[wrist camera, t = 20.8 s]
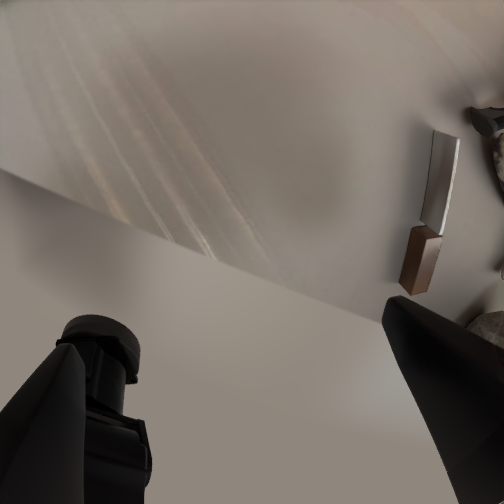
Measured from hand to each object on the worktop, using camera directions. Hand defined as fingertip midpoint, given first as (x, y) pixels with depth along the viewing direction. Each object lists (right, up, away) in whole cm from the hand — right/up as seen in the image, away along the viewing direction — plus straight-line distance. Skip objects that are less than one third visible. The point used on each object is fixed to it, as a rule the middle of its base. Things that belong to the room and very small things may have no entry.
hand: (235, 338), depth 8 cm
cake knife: (+14, +5, +15) cm, 21 cm away
